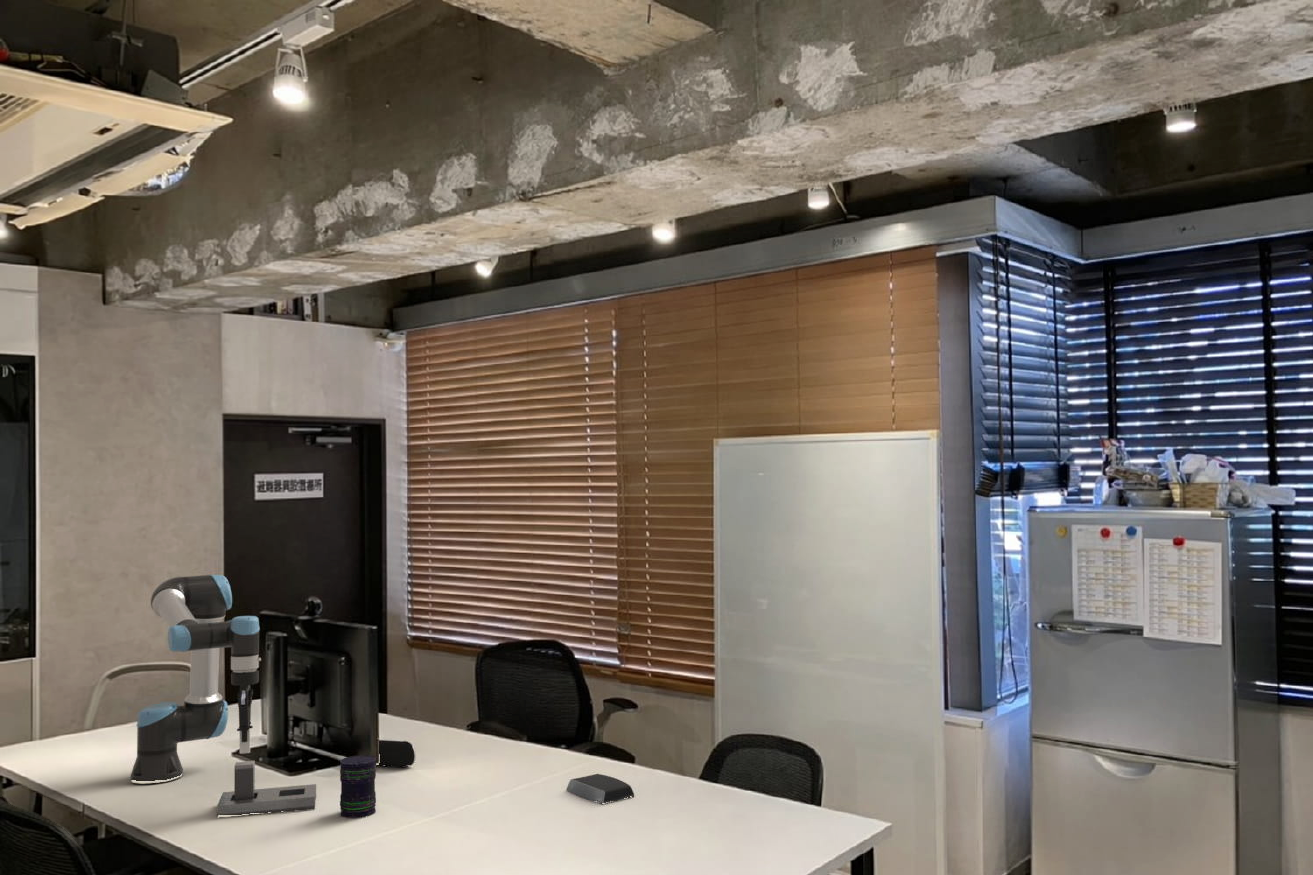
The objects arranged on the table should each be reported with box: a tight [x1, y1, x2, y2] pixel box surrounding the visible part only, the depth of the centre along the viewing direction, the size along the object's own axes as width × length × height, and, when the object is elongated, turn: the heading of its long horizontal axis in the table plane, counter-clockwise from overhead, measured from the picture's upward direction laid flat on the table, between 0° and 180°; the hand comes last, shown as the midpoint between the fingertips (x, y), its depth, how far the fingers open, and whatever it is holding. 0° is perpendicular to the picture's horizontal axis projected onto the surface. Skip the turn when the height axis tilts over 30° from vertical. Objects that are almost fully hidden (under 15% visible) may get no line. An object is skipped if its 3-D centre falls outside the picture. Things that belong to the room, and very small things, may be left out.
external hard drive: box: [566, 773, 635, 804], centre depth 311 cm, size 13×19×4 cm
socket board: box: [216, 783, 317, 817], centre depth 303 cm, size 14×26×4 cm, turn 106°
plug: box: [233, 760, 256, 801], centre depth 301 cm, size 4×5×12 cm
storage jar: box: [339, 754, 377, 819], centre depth 296 cm, size 10×10×15 cm
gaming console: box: [378, 738, 417, 767], centre depth 346 cm, size 19×9×2 cm
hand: (244, 752), depth 302 cm, fingers closed
